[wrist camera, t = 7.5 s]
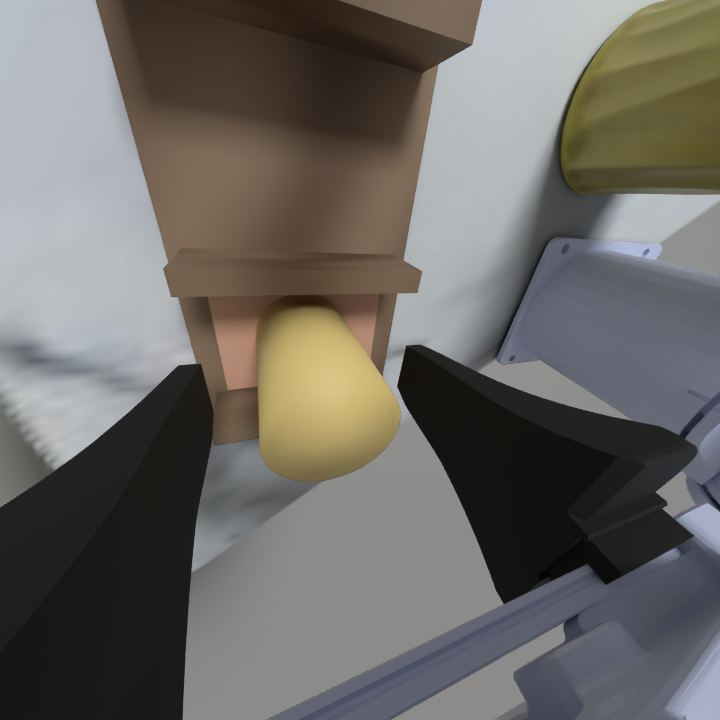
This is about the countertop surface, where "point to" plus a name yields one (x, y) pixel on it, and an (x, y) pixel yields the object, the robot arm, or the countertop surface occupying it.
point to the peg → (318, 393)
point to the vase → (649, 106)
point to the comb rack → (281, 160)
